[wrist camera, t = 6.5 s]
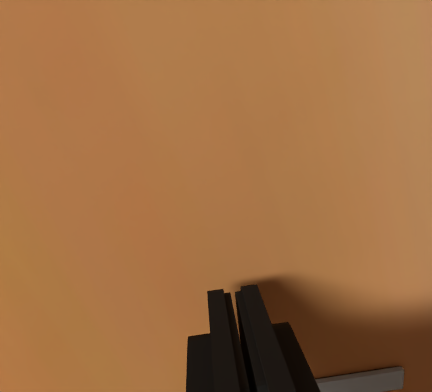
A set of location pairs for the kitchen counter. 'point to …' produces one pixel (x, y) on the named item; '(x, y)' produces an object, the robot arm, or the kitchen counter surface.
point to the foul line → (364, 381)
